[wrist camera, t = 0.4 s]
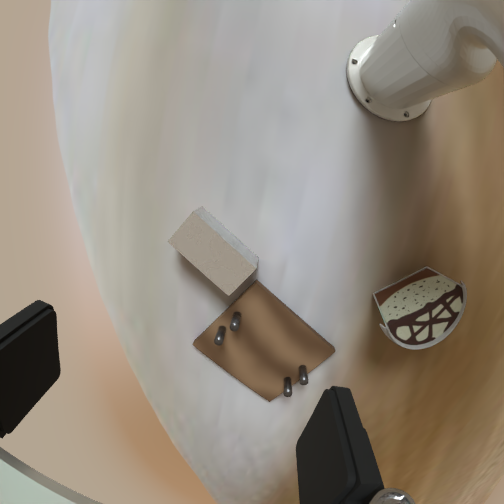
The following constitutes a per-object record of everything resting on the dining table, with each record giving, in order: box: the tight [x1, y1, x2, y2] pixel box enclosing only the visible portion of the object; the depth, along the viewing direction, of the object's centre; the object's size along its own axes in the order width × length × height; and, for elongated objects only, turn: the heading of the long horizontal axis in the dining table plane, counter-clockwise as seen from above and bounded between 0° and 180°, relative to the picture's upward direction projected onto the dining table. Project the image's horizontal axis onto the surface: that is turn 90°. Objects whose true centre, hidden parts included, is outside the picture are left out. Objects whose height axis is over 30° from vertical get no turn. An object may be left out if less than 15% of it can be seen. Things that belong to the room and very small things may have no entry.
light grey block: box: [168, 206, 258, 296], centre depth 39 cm, size 5×10×5 cm, turn 47°
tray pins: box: [214, 311, 308, 397], centre depth 42 cm, size 4×14×4 cm, turn 47°
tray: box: [193, 280, 335, 402], centre depth 45 cm, size 14×16×1 cm
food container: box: [372, 266, 467, 349], centre depth 37 cm, size 12×6×10 cm, turn 116°
